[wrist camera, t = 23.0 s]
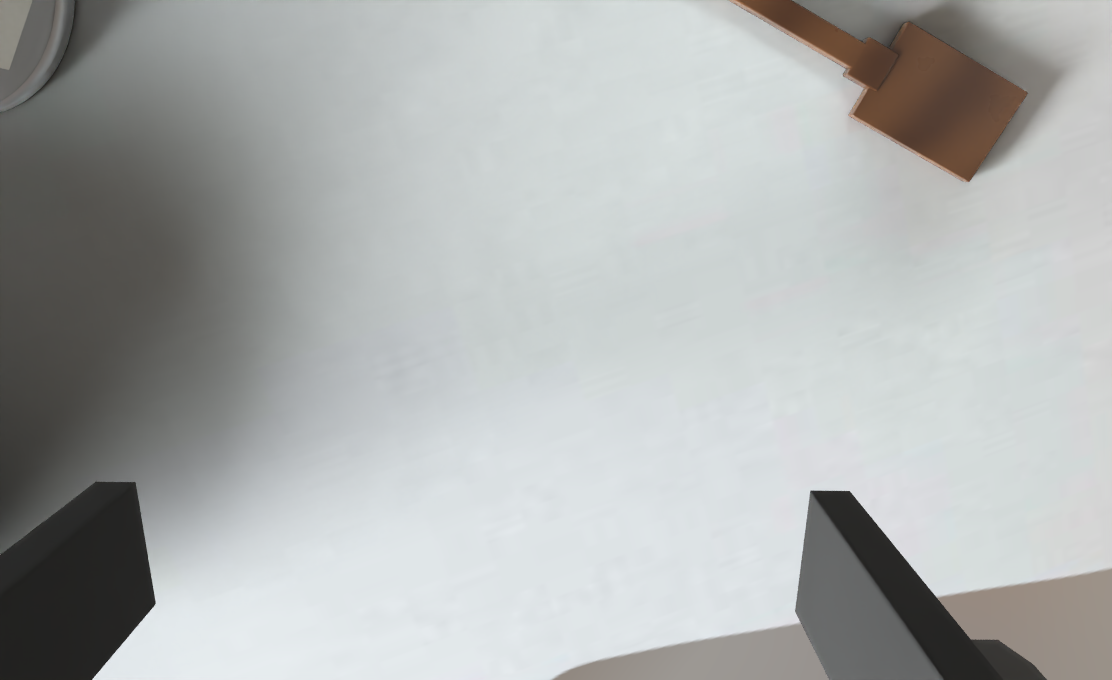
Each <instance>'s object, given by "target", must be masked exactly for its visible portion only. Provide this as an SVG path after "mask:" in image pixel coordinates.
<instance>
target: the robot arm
mask: <svg viewBox="0 0 1112 680" xmlns="http://www.w3.org/2000/svg"><path fill="white" fill-rule="evenodd" d="M74 6H75V0H0V113H1V112H4V111H6V110H9V109H11V108H14V107H16V106H17V105H19V104H21V103H23V102H24V101H26V100H27V99H28V98H30V97H31V96H32V95H34V94H35V93H36V92H37V91H38V90H39V89H40V88H41V87H42V86H44V84H45V83H46V82H47V81H48V80H49V78H50V77H51V76H52V74H53V73H54V71H55V70H56V68H57V67H58V65H59V63H60V61H61V59H62V57H63V55H64V53H65V50H66V47H67V45H68V42H69V38H70V34H71V30H72V25H73V18H74ZM155 604H156V603H155V597H154V591H153V585H152V579H151V573H150V567H149V561H148V554H147V548H146V542H145V536H144V530H143V524H142V518H141V512H140V506H139V500H138V494H137V488H136V482H95V483H94V484H92V485H91V486H90V487H88V488H87V489H86V490H85V491H83V492H82V493H81V494H79V495H78V496H77V497H75V498H74V499H73V500H71V501H70V502H69V503H68V504H66V505H65V506H64V507H62V508H61V509H60V510H58V511H57V512H56V513H54V514H53V515H52V516H51V517H49V518H48V519H47V520H45V521H44V522H43V523H41V524H40V525H39V526H37V527H36V528H35V529H34V530H32V531H31V532H30V533H28V534H27V535H26V536H24V537H23V538H22V539H21V540H19V541H18V542H17V543H15V544H14V545H13V546H11V547H10V548H9V549H7V550H6V551H5V552H4V553H2V554H1V555H0V680H92V679H93V678H94V676H95V675H96V674H97V673H98V672H99V671H100V669H101V668H102V667H103V666H104V665H105V663H106V662H107V661H108V660H109V659H110V658H111V656H112V655H113V654H114V653H115V652H116V650H117V649H118V648H119V647H120V646H121V644H122V643H123V642H124V641H125V640H126V639H127V637H128V636H129V635H130V634H131V633H132V631H133V630H134V629H135V628H136V627H137V625H138V624H139V623H140V622H141V621H142V620H143V618H144V617H145V616H146V615H147V614H148V612H149V611H150V610H151V609H152V608H153V607H154V605H155ZM795 612H796V614H797V616H798V618H799V620H800V622H801V624H802V626H803V628H804V630H805V632H806V634H807V636H808V638H809V640H810V642H811V644H812V646H813V648H814V650H815V652H816V654H817V656H818V658H819V660H820V662H821V664H822V666H823V668H824V670H825V672H826V674H827V676H828V678H829V680H1047V679H1046V678H1045V677H1044V676H1043V675H1042V674H1041V673H1040V672H1039V670H1038V669H1037V668H1036V667H1035V666H1034V665H1033V664H1032V663H1031V662H1029V661H1028V660H1026V659H1025V658H1023V657H1022V656H1020V655H1019V654H1017V653H1016V652H1014V651H1013V650H1011V649H1010V648H1009V647H1007V646H1006V645H1005V644H1003V643H1002V642H1000V641H999V640H971V639H970V638H969V637H968V636H967V634H966V633H965V632H964V631H963V630H962V628H961V627H960V626H959V625H958V624H957V622H956V621H955V620H954V619H953V617H952V616H951V615H950V614H949V612H948V611H947V610H946V609H945V608H944V606H943V605H942V604H941V603H940V601H939V600H938V599H937V598H936V596H935V595H934V594H933V593H932V592H931V590H930V589H929V588H928V587H927V585H926V584H925V583H924V582H923V581H922V579H921V578H920V577H919V576H918V574H917V573H916V572H915V571H914V569H913V568H912V567H911V566H910V565H909V563H908V562H907V561H906V560H905V558H904V557H903V556H902V555H901V554H900V552H899V551H898V550H897V549H896V547H895V546H894V545H893V544H892V542H891V541H890V540H889V539H888V538H887V536H886V535H885V534H884V533H883V531H882V530H881V529H880V528H879V527H878V525H877V524H876V523H875V522H874V520H873V519H872V518H871V517H870V515H869V514H868V513H867V512H866V511H865V509H864V508H863V507H862V506H861V504H860V503H859V502H858V501H857V500H856V498H855V497H854V496H853V495H852V493H851V492H850V491H810V499H809V506H808V514H807V522H806V530H805V538H804V546H803V554H802V562H801V570H800V578H799V586H798V593H797V601H796V609H795Z"/></svg>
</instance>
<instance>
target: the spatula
mask: <svg viewBox="0 0 1112 680" xmlns="http://www.w3.org/2000/svg"><path fill="white" fill-rule="evenodd" d="M729 1H731V2H732V3H734V4H736V5H737V6H739V7H741V8H743V9H744V10H746V11H748V12H750V13H751V14H753V15H755V16H756V17H758V18H760V19H762V20H763V21H765V22H767V23H768V24H770V25H772V26H774V27H775V28H777V29H779V30H780V31H782V32H784V33H786V34H787V35H789V36H791V37H792V38H794V39H796V40H798V41H799V42H801V43H803V44H805V45H806V46H808V47H810V48H811V49H813V50H815V51H817V52H818V53H820V54H822V55H823V56H825V57H827V58H829V59H830V60H832V61H834V62H835V63H837V64H839V65H841V66H842V67H844V68H846V70H845V72H844V74H843V76H844V77H846V78H848V79H849V80H851V81H853V82H854V83H856V84H858V85H860V86H861V87H863V88H864V90H863V92H862V93H861V95H860V97H859V98H858V100H857V102H856V103H855V105H854V107H853V108H852V110H851V112H850V113H849V116H850V117H851V118H853V119H855V120H857V121H858V122H860V123H862V124H864V125H865V126H867V127H869V128H871V129H872V130H874V131H876V132H878V133H879V134H881V135H883V136H885V137H886V138H888V139H890V140H892V141H893V142H895V143H897V144H899V145H900V146H902V147H904V148H906V149H907V150H909V151H911V152H913V153H914V154H916V155H918V156H919V157H921V158H923V159H925V160H926V161H928V162H930V163H932V164H933V165H935V166H937V167H939V168H940V169H942V170H944V171H946V172H947V173H949V174H951V175H953V176H954V177H956V178H958V179H960V180H961V181H965V182H969V181H970V180H971V179H972V177H973V176H974V174H975V173H976V171H977V169H978V168H979V166H980V165H981V163H982V162H983V160H984V159H985V157H986V156H987V154H988V153H989V151H990V150H991V148H992V147H993V145H994V144H995V142H996V141H997V139H998V138H999V136H1000V135H1001V133H1002V132H1003V130H1004V129H1005V127H1006V126H1007V124H1008V123H1009V121H1010V120H1011V118H1012V117H1013V115H1014V114H1015V112H1016V111H1017V109H1018V108H1019V106H1020V105H1021V103H1022V102H1023V100H1024V98H1025V97H1026V95H1027V94H1028V92H1026V91H1024V90H1023V89H1021V88H1019V87H1018V86H1016V85H1014V84H1013V83H1011V82H1009V81H1008V80H1006V79H1004V78H1003V77H1001V76H999V75H998V74H996V73H994V72H993V71H991V70H989V69H988V68H986V67H984V66H983V65H981V64H979V63H978V62H976V61H974V60H973V59H971V58H969V57H968V56H966V55H964V54H963V53H961V52H959V51H958V50H956V49H954V48H953V47H951V46H949V45H948V44H946V43H944V42H942V41H941V40H939V39H937V38H936V37H934V36H932V35H931V34H929V33H927V32H926V31H924V30H922V29H921V28H919V27H917V26H916V25H914V24H912V23H911V22H907V23H904V24H903V25H902V27H901V29H900V30H899V32H898V34H897V35H896V37H895V39H894V40H893V42H892V44H891V45H890V47H889V48H888V47H886V46H884V45H883V44H881V43H879V42H877V41H876V40H874V39H872V38H871V37H868V38H865V39H864V40H863V41H860V40H858V39H857V38H855V37H853V36H851V35H850V34H848V33H846V32H845V31H843V30H841V29H840V28H838V27H836V26H834V25H833V24H831V23H829V22H828V21H826V20H824V19H823V18H821V17H819V16H817V15H816V14H814V13H812V12H811V11H809V10H807V9H806V8H804V7H802V6H800V5H799V4H797V3H795V2H794V1H792V0H729Z"/></svg>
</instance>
